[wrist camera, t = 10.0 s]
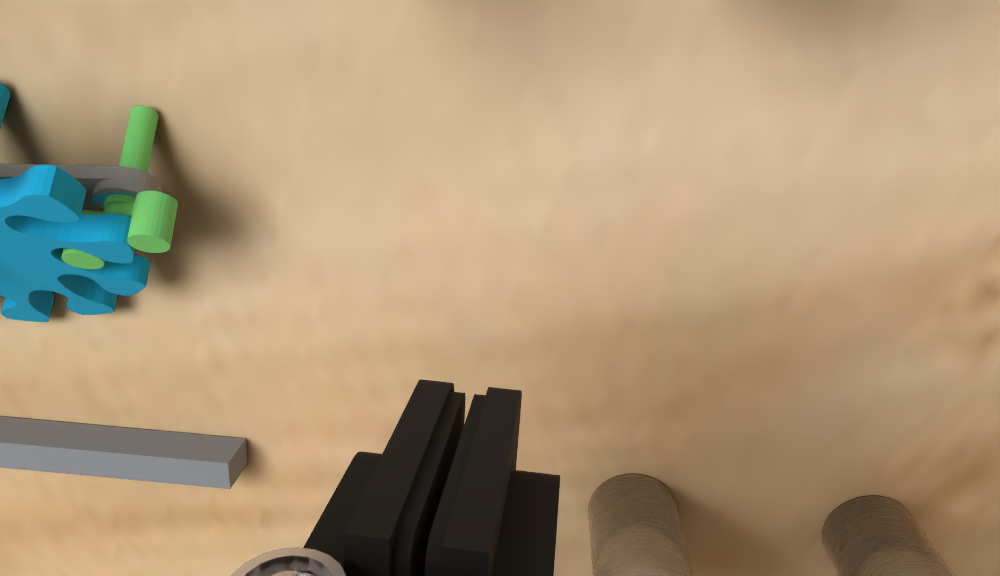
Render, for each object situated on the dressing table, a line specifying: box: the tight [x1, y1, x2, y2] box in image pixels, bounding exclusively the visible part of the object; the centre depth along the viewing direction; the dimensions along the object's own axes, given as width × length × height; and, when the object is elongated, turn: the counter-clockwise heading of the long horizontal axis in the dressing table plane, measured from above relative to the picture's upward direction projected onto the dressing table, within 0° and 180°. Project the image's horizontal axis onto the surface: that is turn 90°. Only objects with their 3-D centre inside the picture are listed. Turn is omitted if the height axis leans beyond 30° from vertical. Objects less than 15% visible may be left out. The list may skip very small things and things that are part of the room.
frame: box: [0, 416, 248, 489], centre depth 22 cm, size 18×13×2 cm
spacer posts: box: [588, 474, 954, 576], centre depth 18 cm, size 22×19×8 cm
